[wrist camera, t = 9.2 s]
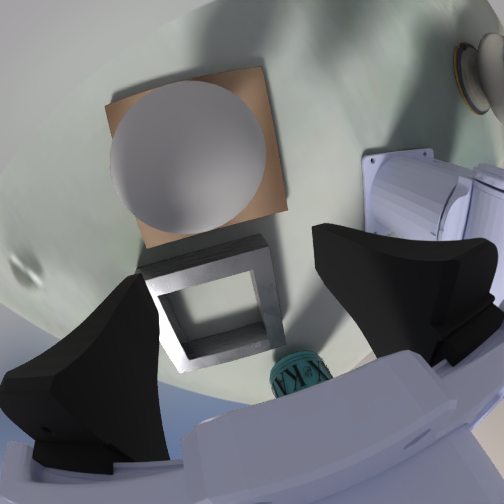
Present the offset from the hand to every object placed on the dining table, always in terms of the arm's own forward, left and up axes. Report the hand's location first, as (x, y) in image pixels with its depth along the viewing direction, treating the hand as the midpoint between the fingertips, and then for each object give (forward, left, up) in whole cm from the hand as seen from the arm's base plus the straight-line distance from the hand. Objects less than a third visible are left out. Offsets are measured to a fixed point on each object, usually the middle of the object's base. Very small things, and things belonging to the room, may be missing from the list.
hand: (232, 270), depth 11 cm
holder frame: (+2, +9, -10) cm, 14 cm away
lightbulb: (+1, -4, -10) cm, 11 cm away
